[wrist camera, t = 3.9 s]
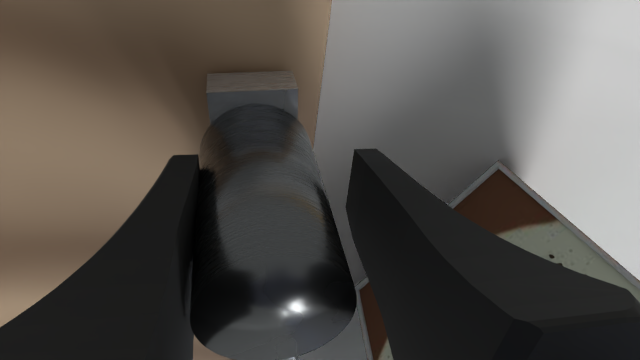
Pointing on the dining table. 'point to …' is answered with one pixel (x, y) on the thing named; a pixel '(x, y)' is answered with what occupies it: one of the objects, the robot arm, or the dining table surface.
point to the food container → (517, 228)
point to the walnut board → (120, 113)
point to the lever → (264, 228)
